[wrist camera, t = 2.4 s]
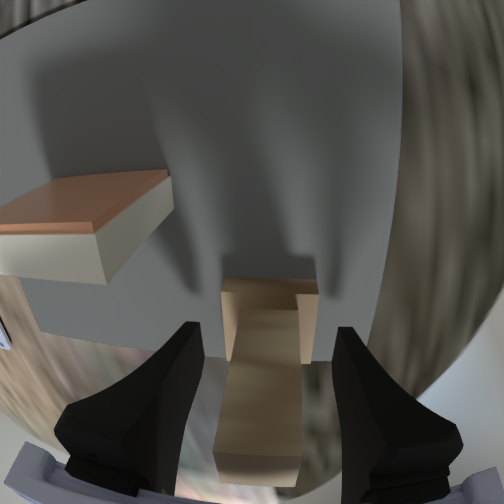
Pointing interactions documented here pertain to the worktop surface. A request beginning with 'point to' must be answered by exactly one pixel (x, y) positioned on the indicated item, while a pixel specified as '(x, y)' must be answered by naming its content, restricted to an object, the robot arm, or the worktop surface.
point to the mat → (214, 152)
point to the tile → (82, 225)
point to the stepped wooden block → (264, 378)
